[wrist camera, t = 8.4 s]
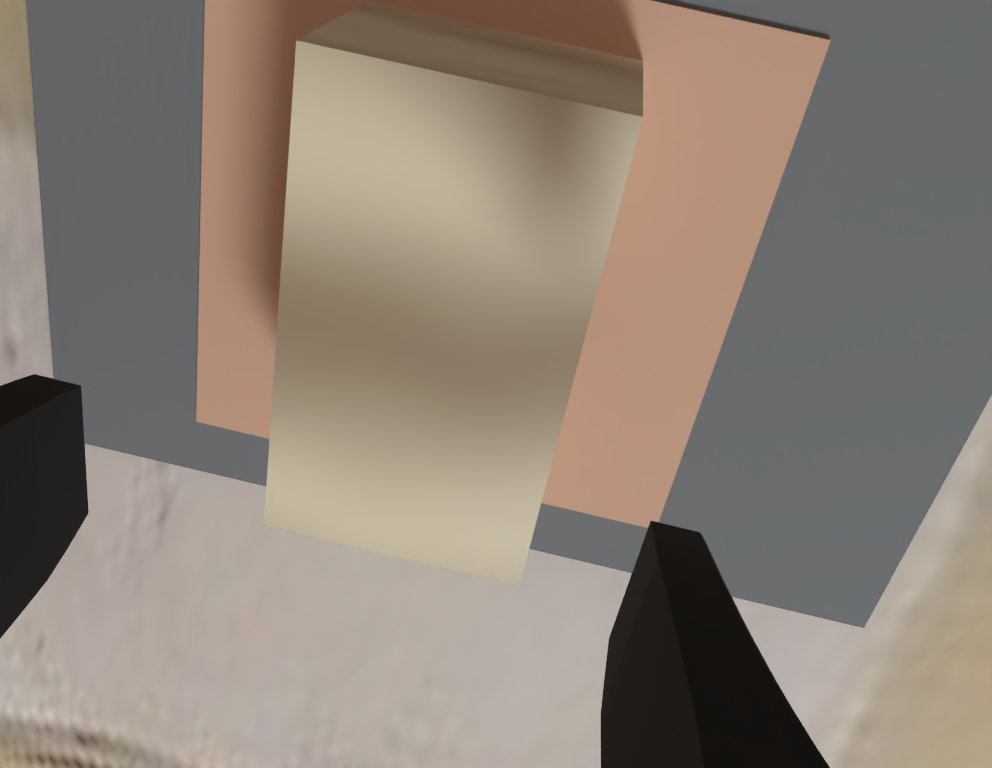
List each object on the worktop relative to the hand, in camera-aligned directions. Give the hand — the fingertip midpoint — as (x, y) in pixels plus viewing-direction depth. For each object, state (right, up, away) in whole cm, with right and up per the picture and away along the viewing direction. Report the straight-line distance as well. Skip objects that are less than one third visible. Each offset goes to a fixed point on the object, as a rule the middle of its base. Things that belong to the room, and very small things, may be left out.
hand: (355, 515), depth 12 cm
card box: (+1, +4, +7) cm, 8 cm away
